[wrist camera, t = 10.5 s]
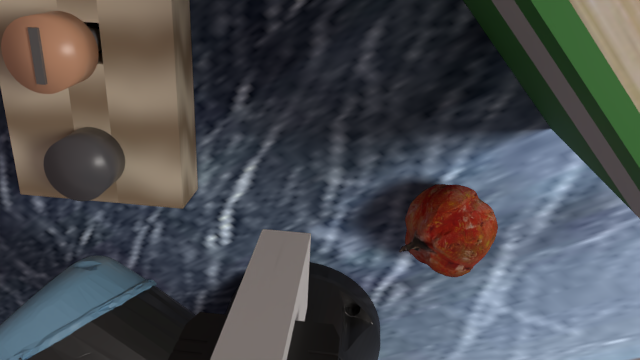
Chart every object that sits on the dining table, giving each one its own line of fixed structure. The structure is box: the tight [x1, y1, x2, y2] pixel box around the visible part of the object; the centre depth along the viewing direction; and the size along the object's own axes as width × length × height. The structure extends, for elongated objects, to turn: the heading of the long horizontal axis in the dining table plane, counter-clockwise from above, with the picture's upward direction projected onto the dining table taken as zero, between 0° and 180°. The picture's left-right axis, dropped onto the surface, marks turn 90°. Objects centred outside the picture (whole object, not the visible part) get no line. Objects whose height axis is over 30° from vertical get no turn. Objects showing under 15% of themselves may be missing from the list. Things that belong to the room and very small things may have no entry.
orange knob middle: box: [1, 11, 102, 94], centre depth 38 cm, size 5×5×7 cm
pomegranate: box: [399, 184, 498, 277], centre depth 44 cm, size 7×7×10 cm
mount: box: [0, 0, 198, 208], centre depth 42 cm, size 26×14×4 cm, turn 177°
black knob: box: [44, 127, 125, 201], centre depth 44 cm, size 5×5×7 cm
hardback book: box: [463, 0, 640, 218], centre depth 29 cm, size 18×7×24 cm, turn 39°
